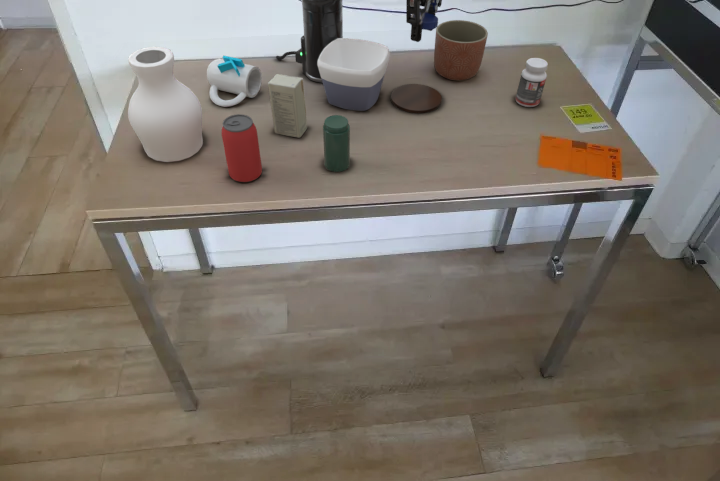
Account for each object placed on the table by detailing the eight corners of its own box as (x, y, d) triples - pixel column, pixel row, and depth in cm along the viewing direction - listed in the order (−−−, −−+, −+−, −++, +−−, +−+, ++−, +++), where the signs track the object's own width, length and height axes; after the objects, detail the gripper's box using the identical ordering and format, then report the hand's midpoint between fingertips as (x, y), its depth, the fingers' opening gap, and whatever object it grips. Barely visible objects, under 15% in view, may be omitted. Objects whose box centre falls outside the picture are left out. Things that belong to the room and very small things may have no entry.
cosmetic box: (307, 128, 124) (304, 77, 115) (300, 139, 121) (296, 88, 112) (281, 122, 125) (276, 72, 117) (272, 133, 122) (267, 82, 114)
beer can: (230, 164, 114) (221, 112, 106) (263, 162, 115) (256, 111, 106) (227, 184, 110) (217, 132, 101) (261, 183, 110) (254, 131, 102)
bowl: (375, 121, 126) (376, 75, 118) (311, 108, 130) (309, 63, 122) (393, 88, 137) (396, 44, 129) (334, 77, 140) (333, 33, 132)
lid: (442, 27, 119) (443, 20, 118) (420, 31, 117) (421, 24, 116) (426, 17, 123) (427, 10, 122) (404, 20, 120) (405, 13, 119)
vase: (149, 125, 124) (123, 37, 109) (214, 126, 124) (197, 39, 110) (130, 164, 114) (99, 74, 99) (200, 165, 114) (180, 75, 99)
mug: (207, 43, 130) (253, 53, 127) (221, 70, 138) (264, 80, 135) (184, 83, 126) (230, 95, 123) (200, 108, 134) (244, 119, 131)
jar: (319, 166, 114) (317, 124, 107) (332, 153, 117) (331, 111, 110) (341, 175, 112) (340, 132, 105) (354, 161, 116) (354, 118, 108)
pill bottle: (539, 109, 131) (550, 70, 124) (514, 106, 132) (524, 67, 125) (539, 96, 135) (549, 58, 128) (515, 93, 136) (524, 55, 129)
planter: (446, 56, 149) (452, 15, 141) (488, 70, 144) (496, 28, 136) (422, 74, 141) (426, 32, 134) (465, 90, 136) (472, 47, 129)
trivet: (381, 104, 131) (381, 101, 131) (404, 82, 139) (404, 79, 138) (428, 118, 127) (428, 115, 127) (449, 95, 135) (449, 92, 134)
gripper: (432, -34, 104) (423, 52, 116) (462, -56, 113) (451, 26, 125) (396, -42, 107) (391, 43, 118) (428, -62, 116) (420, 19, 127)
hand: (422, 34), depth 122 cm, fingers closed on lid, 6 cm apart
